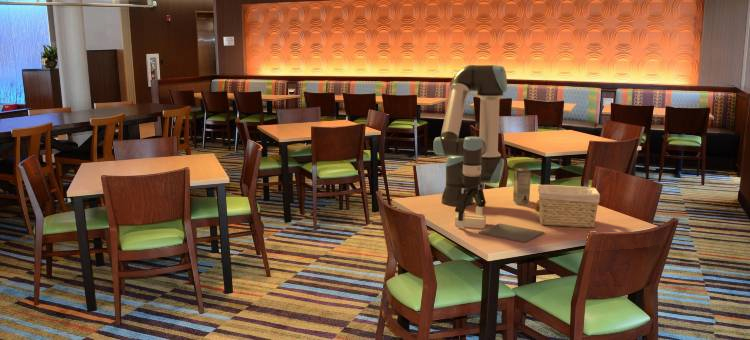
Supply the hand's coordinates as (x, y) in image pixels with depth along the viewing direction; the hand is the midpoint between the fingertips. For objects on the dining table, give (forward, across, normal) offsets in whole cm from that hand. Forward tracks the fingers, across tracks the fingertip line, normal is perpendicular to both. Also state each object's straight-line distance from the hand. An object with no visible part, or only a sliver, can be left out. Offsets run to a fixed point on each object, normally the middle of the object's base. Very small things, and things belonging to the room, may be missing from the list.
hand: (470, 225), depth 272 cm
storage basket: (0, +30, -29) cm, 42 cm away
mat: (0, 0, -19) cm, 19 cm away
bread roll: (0, +44, -13) cm, 46 cm away
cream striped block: (0, 0, 0) cm, 1 cm away
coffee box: (0, +51, +3) cm, 51 cm away
